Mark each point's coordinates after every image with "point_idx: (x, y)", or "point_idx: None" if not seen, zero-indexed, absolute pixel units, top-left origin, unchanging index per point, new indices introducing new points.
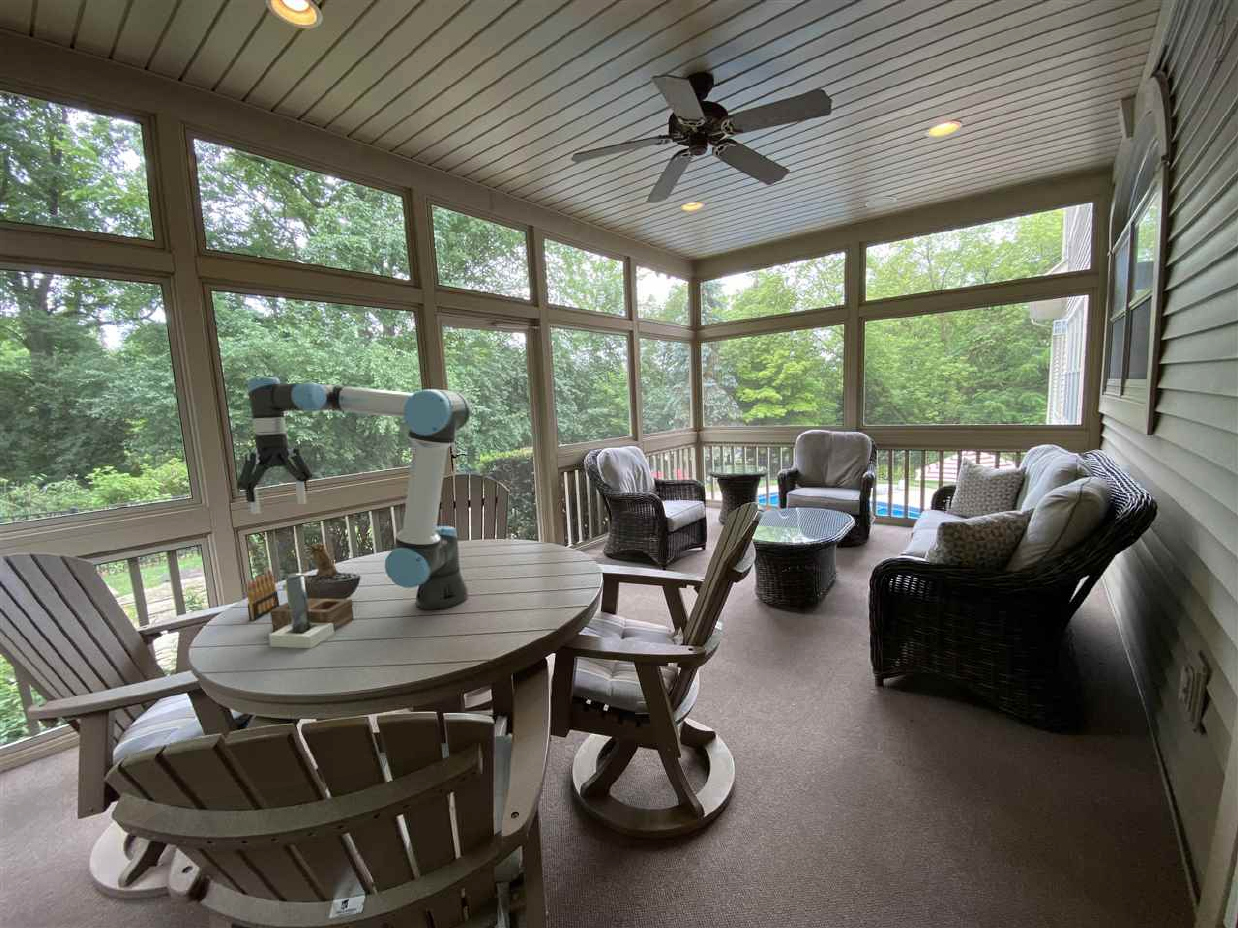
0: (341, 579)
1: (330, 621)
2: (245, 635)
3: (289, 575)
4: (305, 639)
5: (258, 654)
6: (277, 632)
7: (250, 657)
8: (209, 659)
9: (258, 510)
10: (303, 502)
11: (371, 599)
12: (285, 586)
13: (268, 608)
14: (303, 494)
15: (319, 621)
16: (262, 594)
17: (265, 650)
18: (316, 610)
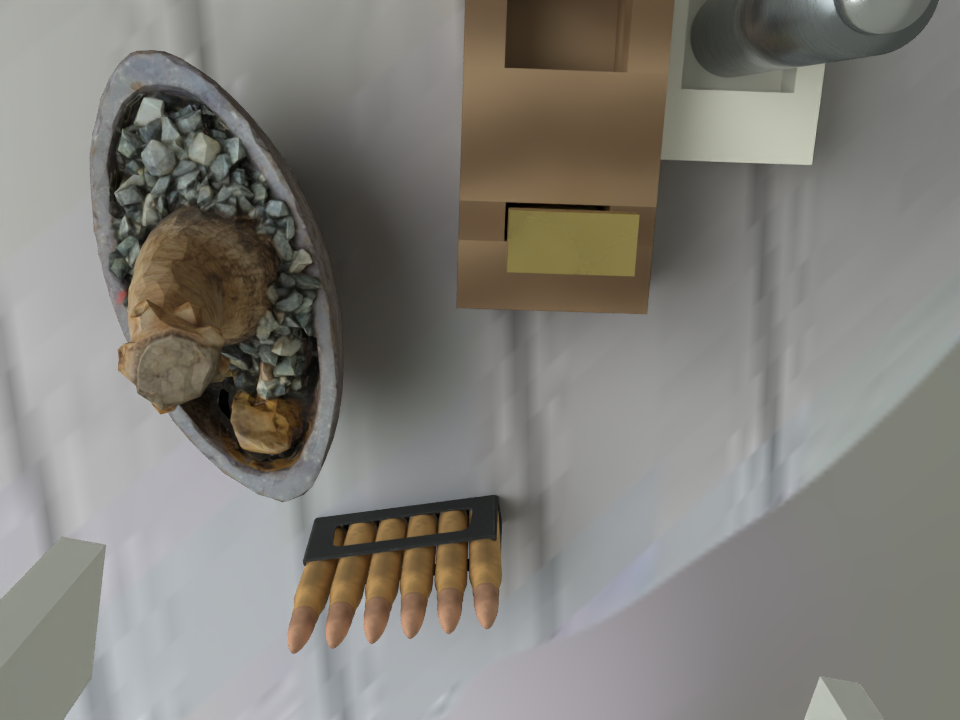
0: (230, 140)
1: None
2: (665, 397)
3: (912, 12)
4: None
5: (871, 152)
6: (780, 143)
7: (898, 167)
8: (901, 353)
9: (868, 714)
10: (96, 571)
11: (167, 15)
12: (635, 250)
13: (393, 519)
14: (22, 637)
15: None
16: (418, 558)
17: (831, 151)
18: (651, 5)
